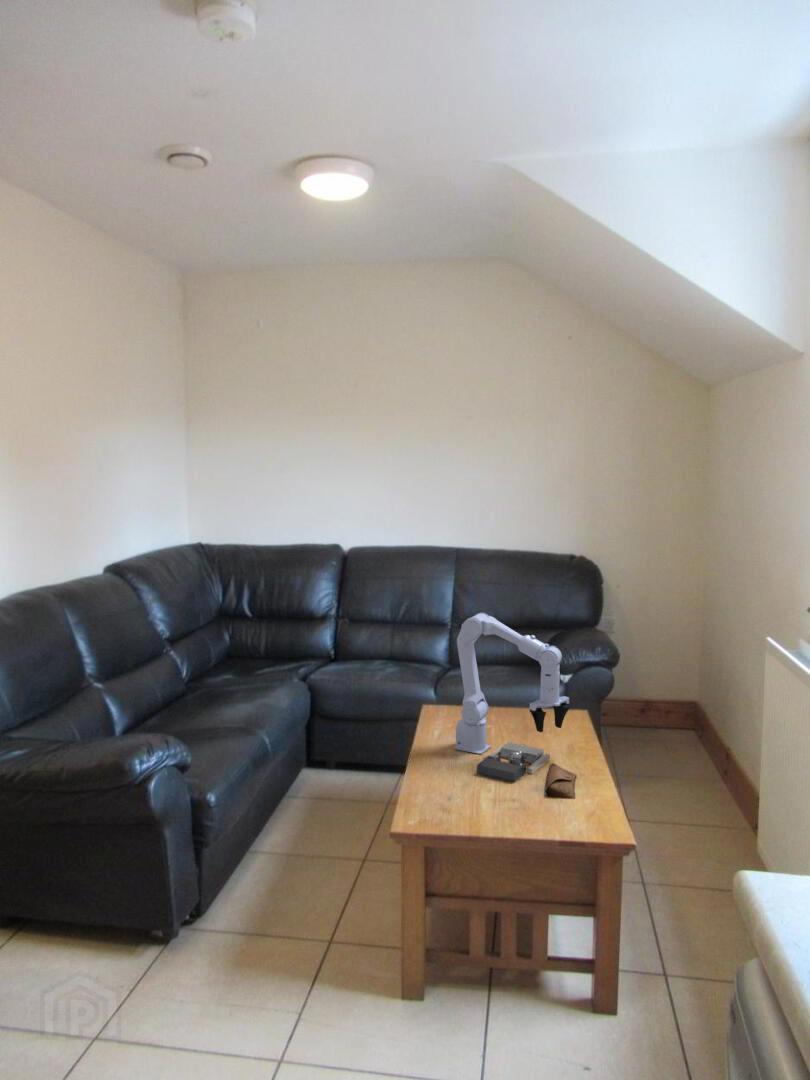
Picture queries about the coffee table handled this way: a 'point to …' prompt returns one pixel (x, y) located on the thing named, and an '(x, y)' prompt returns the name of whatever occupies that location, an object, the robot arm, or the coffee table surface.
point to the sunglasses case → (560, 783)
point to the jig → (533, 767)
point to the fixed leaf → (501, 769)
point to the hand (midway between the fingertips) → (549, 729)
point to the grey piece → (521, 753)
